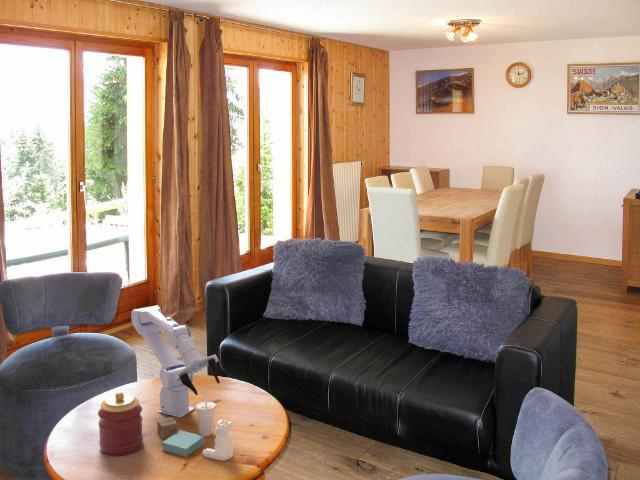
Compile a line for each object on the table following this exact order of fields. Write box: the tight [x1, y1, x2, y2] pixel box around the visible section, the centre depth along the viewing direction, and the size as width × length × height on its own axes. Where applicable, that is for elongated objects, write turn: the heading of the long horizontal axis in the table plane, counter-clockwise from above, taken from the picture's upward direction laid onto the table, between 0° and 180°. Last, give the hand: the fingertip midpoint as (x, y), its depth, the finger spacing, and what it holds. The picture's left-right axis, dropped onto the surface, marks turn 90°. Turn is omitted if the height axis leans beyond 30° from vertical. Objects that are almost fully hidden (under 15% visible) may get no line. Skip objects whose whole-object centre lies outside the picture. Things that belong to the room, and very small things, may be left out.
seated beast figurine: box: [201, 419, 235, 462], centre depth 200 cm, size 10×9×12 cm
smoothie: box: [195, 392, 217, 437], centre depth 214 cm, size 6×6×14 cm
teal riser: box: [161, 429, 205, 457], centre depth 206 cm, size 9×9×2 cm
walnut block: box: [156, 416, 178, 442], centre depth 213 cm, size 5×5×5 cm
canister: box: [97, 391, 144, 457], centre depth 205 cm, size 13×13×18 cm
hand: (207, 387), depth 213 cm, fingers open, 7 cm apart
